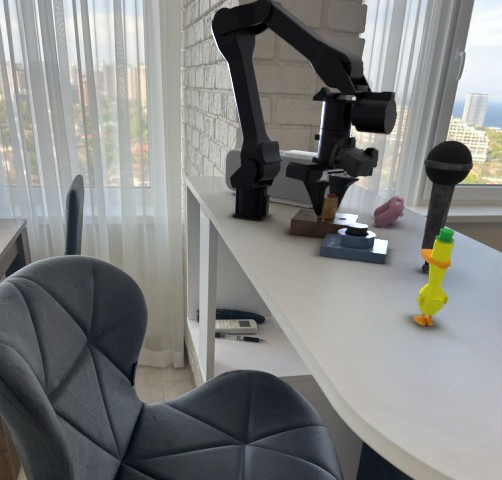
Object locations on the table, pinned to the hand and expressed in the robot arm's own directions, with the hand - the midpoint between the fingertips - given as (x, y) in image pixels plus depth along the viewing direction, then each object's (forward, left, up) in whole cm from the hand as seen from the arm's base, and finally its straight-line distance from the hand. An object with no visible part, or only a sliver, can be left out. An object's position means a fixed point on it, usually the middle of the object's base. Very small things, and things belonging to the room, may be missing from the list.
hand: (325, 214), depth 100 cm
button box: (+7, -12, -4) cm, 14 cm away
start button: (+7, -12, 0) cm, 14 cm away
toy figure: (+18, -39, -4) cm, 43 cm away
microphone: (+19, -18, -4) cm, 26 cm away
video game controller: (+12, +14, -4) cm, 19 cm away
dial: (0, 0, 0) cm, 0 cm away
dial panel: (0, 0, -4) cm, 4 cm away
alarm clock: (-15, +28, -4) cm, 32 cm away
